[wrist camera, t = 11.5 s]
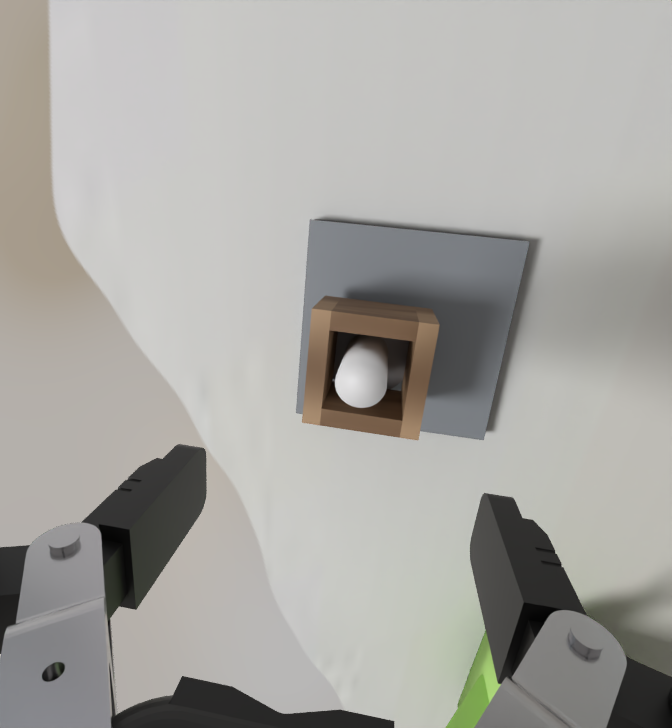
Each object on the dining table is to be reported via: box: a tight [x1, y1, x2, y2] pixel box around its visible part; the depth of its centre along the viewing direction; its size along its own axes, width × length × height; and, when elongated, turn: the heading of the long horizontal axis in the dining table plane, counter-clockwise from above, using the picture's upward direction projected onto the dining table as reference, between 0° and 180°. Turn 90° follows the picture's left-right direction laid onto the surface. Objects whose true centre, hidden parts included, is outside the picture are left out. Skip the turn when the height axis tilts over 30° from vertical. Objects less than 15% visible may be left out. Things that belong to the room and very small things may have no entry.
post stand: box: [296, 220, 530, 440], centre depth 24 cm, size 13×13×8 cm
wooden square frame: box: [302, 296, 440, 440], centre depth 24 cm, size 6×6×4 cm
